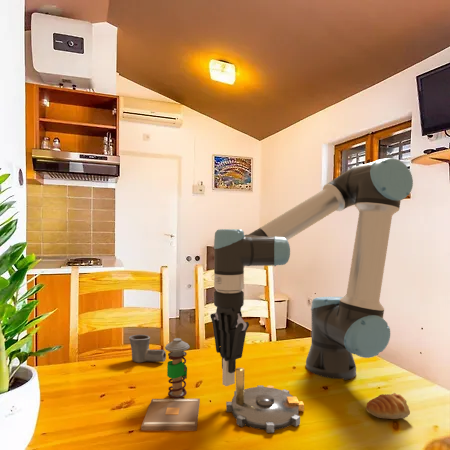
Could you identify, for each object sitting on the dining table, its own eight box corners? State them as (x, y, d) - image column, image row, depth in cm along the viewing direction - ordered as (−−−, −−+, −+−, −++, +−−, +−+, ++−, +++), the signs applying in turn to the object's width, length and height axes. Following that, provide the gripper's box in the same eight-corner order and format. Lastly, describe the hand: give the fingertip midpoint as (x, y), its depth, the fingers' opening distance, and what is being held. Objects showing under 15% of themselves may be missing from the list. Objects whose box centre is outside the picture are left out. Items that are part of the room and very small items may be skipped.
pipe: (161, 366, 110) (161, 341, 110) (124, 363, 113) (124, 338, 113) (168, 359, 116) (168, 335, 116) (133, 356, 119) (133, 333, 119)
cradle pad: (199, 402, 88) (199, 398, 88) (196, 430, 76) (196, 425, 76) (152, 402, 88) (152, 398, 88) (141, 430, 76) (141, 425, 76)
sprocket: (294, 391, 93) (294, 354, 93) (313, 433, 75) (313, 386, 75) (225, 392, 93) (225, 355, 93) (227, 433, 74) (227, 387, 75)
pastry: (377, 423, 78) (378, 407, 78) (359, 407, 85) (359, 391, 85) (412, 417, 80) (413, 401, 80) (392, 402, 87) (392, 387, 87)
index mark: (267, 387, 96) (267, 385, 96) (273, 387, 96) (273, 386, 96) (266, 392, 93) (266, 390, 93) (272, 392, 93) (272, 391, 93)
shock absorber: (194, 395, 92) (194, 338, 92) (178, 405, 86) (178, 345, 86) (175, 388, 95) (176, 334, 95) (159, 398, 90) (159, 340, 90)
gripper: (202, 288, 90) (201, 378, 90) (233, 296, 80) (233, 398, 80) (224, 285, 95) (224, 371, 95) (257, 292, 85) (257, 389, 85)
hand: (228, 383), depth 87 cm, fingers closed
